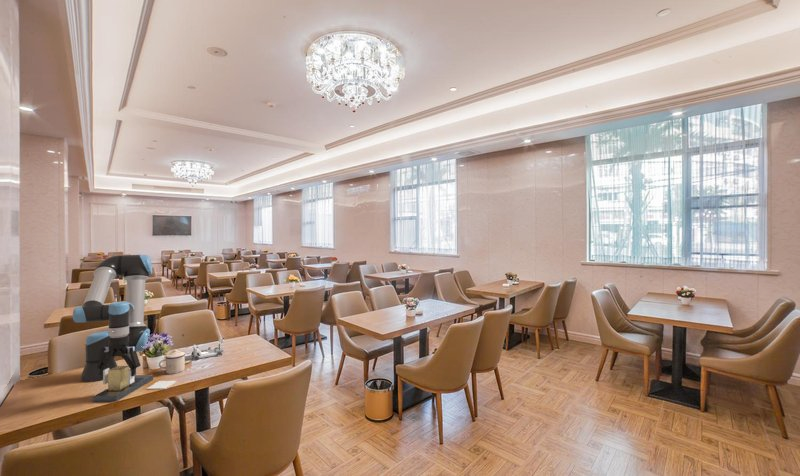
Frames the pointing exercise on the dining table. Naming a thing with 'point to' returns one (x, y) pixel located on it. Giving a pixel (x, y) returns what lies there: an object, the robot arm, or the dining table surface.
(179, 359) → the teacup with lid
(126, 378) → the brass block
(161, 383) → the mat
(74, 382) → the dining table surface
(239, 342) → the dining table surface
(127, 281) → the robot arm
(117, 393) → the dark grey tray
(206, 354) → the silver irregular piece
